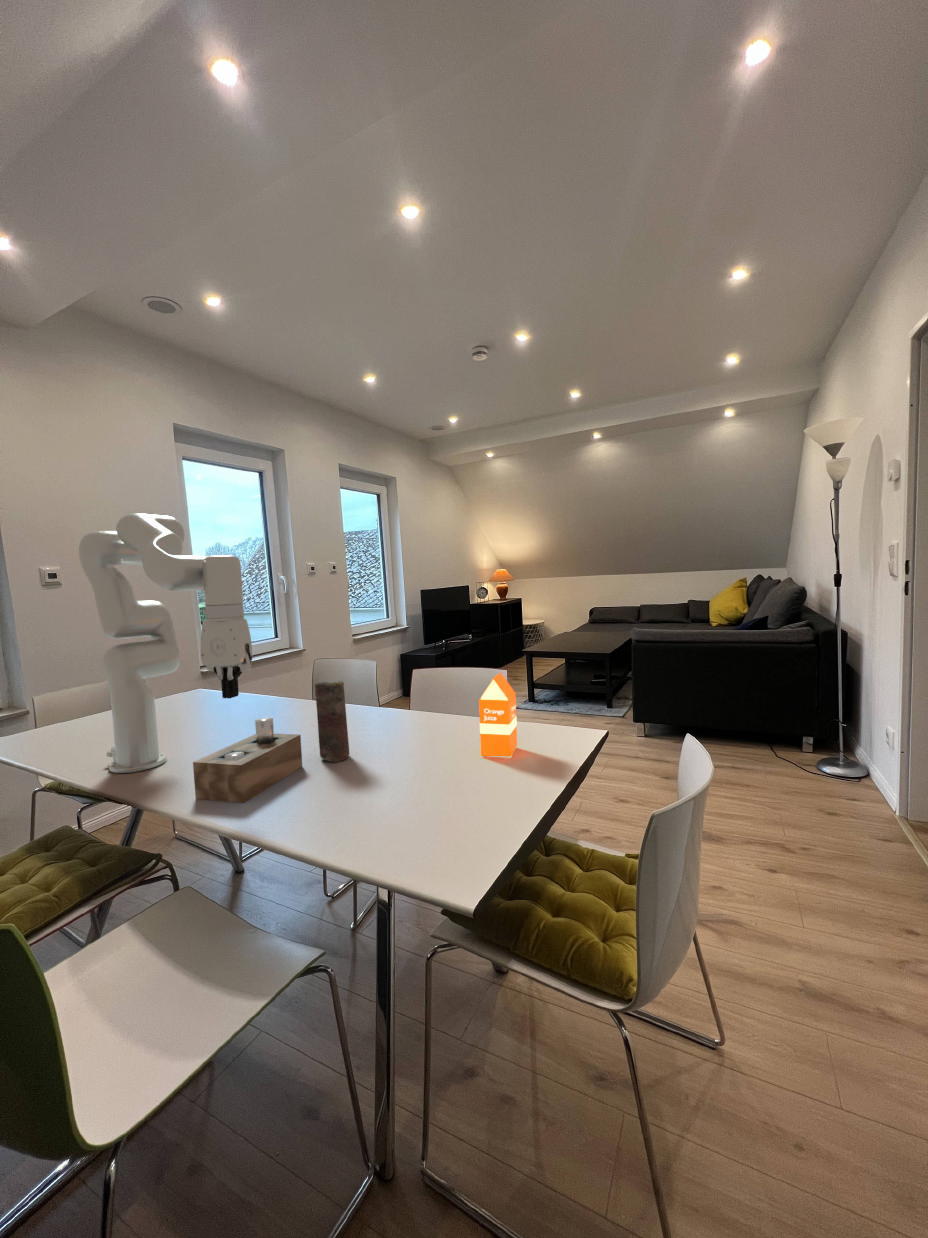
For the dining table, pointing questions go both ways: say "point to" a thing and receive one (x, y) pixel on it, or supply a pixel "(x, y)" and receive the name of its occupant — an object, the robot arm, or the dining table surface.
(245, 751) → the walnut block
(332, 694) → the weathered brick
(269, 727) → the peg
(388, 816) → the dining table surface
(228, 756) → the peg
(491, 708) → the orange juice
